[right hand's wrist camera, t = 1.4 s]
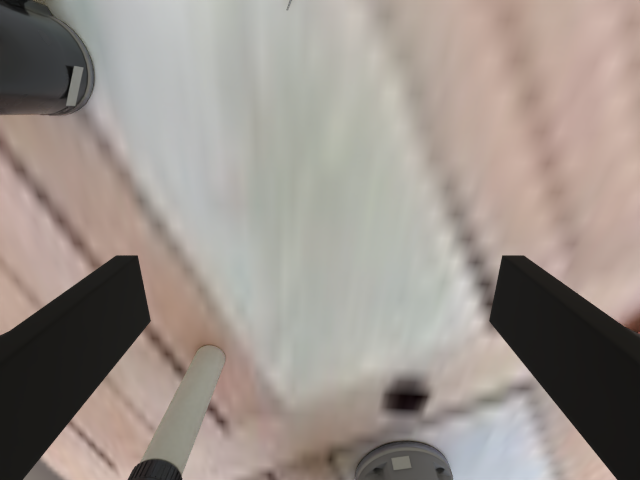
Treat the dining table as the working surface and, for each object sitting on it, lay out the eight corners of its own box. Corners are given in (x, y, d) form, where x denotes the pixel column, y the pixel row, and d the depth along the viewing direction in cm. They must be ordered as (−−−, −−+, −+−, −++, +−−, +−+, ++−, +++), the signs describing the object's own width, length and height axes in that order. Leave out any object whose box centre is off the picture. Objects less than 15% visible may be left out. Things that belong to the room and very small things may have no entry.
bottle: (226, 347, 47) (173, 480, 30) (224, 370, 49) (173, 510, 32) (196, 343, 47) (126, 475, 30) (195, 367, 49) (127, 506, 31)
